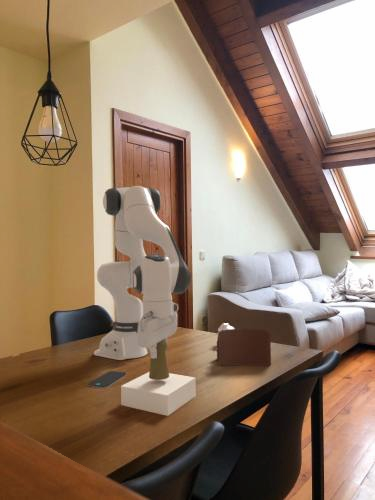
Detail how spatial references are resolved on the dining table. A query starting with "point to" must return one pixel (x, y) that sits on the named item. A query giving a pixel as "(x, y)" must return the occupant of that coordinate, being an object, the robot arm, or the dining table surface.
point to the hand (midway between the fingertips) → (158, 355)
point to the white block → (158, 393)
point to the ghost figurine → (224, 327)
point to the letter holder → (244, 347)
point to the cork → (159, 363)
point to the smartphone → (107, 379)
